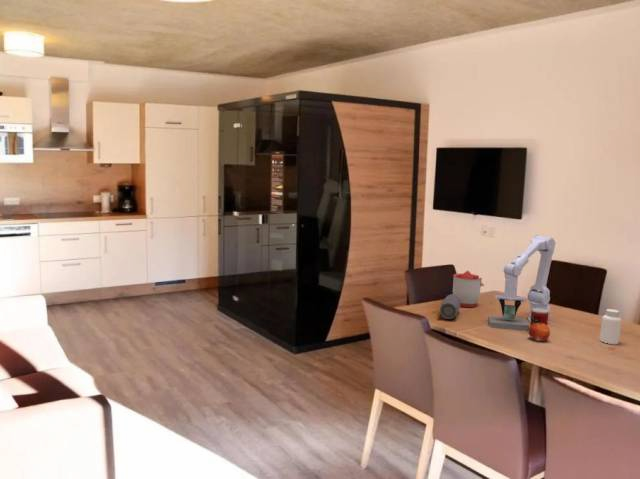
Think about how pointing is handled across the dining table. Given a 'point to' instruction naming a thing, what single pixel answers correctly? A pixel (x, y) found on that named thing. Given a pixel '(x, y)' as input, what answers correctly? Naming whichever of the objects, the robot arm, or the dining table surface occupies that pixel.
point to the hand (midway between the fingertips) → (508, 314)
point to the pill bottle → (610, 327)
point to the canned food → (539, 316)
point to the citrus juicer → (467, 288)
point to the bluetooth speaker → (450, 306)
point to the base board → (508, 323)
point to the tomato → (539, 331)
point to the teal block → (509, 312)
